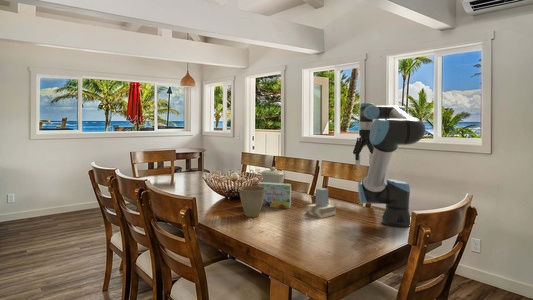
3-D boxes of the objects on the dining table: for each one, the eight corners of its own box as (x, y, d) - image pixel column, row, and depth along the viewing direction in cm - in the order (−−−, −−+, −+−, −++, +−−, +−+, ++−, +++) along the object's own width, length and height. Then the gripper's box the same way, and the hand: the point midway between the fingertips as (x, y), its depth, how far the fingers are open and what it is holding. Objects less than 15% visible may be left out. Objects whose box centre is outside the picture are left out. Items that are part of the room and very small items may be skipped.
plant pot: (234, 214, 199) (235, 186, 198) (257, 211, 206) (258, 185, 205) (245, 220, 186) (245, 191, 185) (269, 217, 193) (269, 189, 192)
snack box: (256, 206, 218) (256, 183, 217) (258, 204, 223) (259, 181, 222) (289, 209, 213) (290, 184, 212) (291, 206, 218) (291, 183, 217)
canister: (256, 196, 246) (257, 167, 244) (264, 192, 263) (265, 164, 261) (280, 198, 240) (281, 169, 238) (287, 193, 257) (288, 166, 256)
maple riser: (335, 214, 201) (335, 206, 200) (321, 218, 193) (322, 209, 193) (320, 210, 210) (320, 202, 210) (306, 213, 203) (306, 205, 202)
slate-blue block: (327, 206, 201) (328, 189, 200) (321, 207, 198) (322, 190, 197) (321, 204, 205) (321, 187, 204) (315, 205, 202) (316, 188, 201)
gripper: (372, 129, 214) (371, 162, 216) (347, 129, 198) (346, 165, 200) (383, 129, 208) (382, 164, 210) (358, 129, 193) (357, 167, 194)
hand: (364, 164), depth 205 cm, fingers open, 13 cm apart
